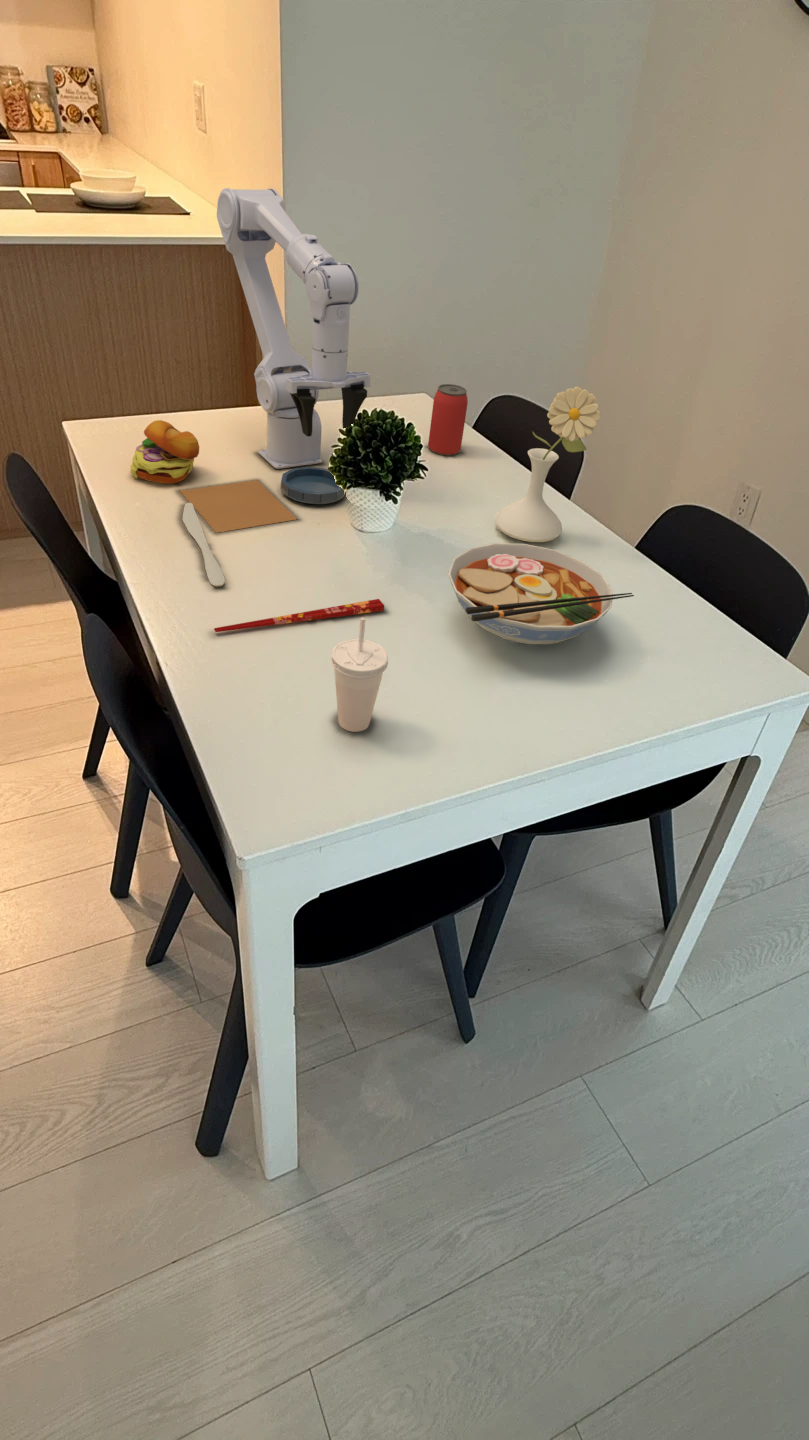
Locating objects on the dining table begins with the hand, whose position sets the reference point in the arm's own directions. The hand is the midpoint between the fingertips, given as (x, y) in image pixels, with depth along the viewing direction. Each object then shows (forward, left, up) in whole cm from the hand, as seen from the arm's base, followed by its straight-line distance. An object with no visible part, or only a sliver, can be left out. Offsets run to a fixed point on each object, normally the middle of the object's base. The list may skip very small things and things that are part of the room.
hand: (327, 432), depth 147 cm
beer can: (-31, -8, -10) cm, 33 cm away
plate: (+3, +2, -10) cm, 10 cm away
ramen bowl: (-5, +51, -10) cm, 53 cm away
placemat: (+17, +2, -10) cm, 20 cm away
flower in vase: (-25, +28, -10) cm, 39 cm away
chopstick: (+23, +38, -10) cm, 46 cm away
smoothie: (+27, +60, -10) cm, 67 cm away
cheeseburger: (+24, -13, -10) cm, 29 cm away
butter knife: (+28, +13, -10) cm, 32 cm away
